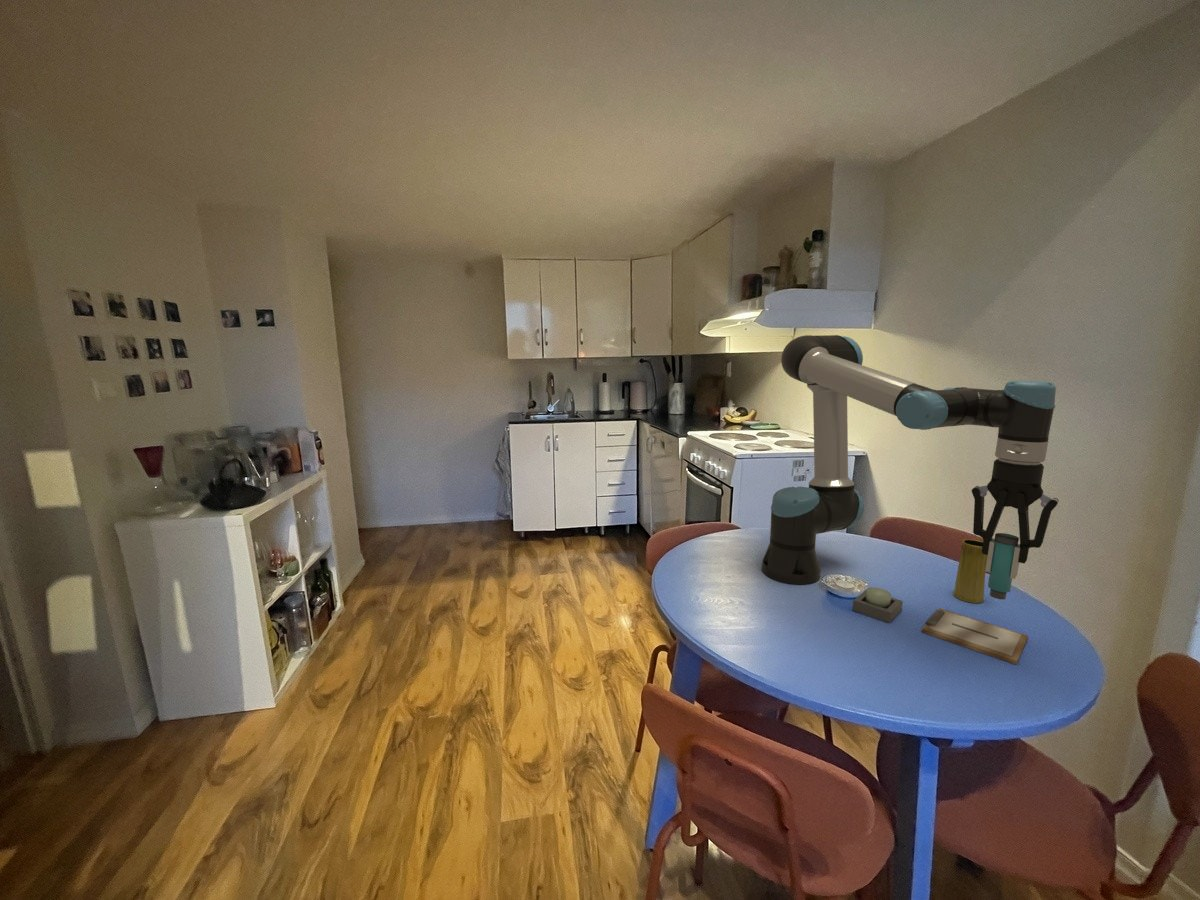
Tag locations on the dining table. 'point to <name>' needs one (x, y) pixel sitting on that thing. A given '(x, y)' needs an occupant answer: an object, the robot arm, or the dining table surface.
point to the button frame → (877, 608)
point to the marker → (1002, 565)
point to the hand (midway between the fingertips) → (1001, 572)
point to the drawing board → (976, 635)
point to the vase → (971, 572)
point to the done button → (878, 597)
